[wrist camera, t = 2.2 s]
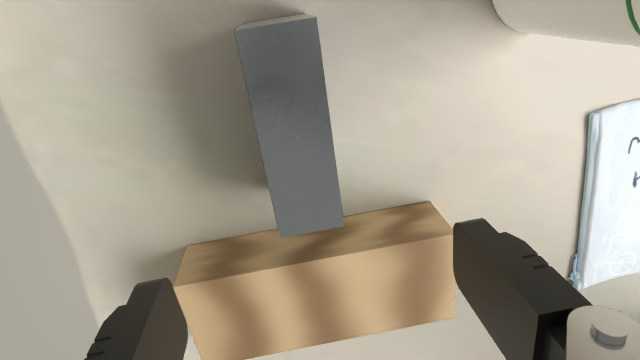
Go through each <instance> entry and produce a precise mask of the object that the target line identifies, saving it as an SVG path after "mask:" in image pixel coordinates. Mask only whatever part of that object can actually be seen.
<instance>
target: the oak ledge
mask: <svg viewBox="0 0 640 360" xmlns="http://www.w3.org/2000/svg"><path fill="white" fill-rule="evenodd" d="M343 221H344V226H343V227H338V228H332V229H327V230H322V231H316V232H311V233H306V234H300V235H295V236H289V237H284V238H280V236H279V231H278V229H275V230H270V231H264V232H259V233H253V234H248V235H242V236H237V237H231V238H226V239H221V240H215V241H210V242H204V243H199V244H193V245H188V246H187V247H186V250H185V253H184V256H183V259H182V262H181V265H180V268H179V271H178V274H177V277H176V280H175V283H174V286H173V289H174V291H175V294H176V296H177V299H178V301H179V304H180V306H181V309H182V311H183V314H184V317H185V319H186V322H187V325H188V327H189V330H190V332H191V335H192V337H193V340H194V343H195V345H196V348H197V350H198V353H199V355H200V358H201V360H244V359H249V358H254V357H259V356H264V355H270V354H275V353H280V352H285V351H290V350H295V349H300V348H305V347H310V346H315V345H320V344H325V343H330V342H335V341H340V340H345V339H350V338H355V337H360V336H365V335H370V334H375V333H380V332H385V331H390V330H395V329H400V328H405V327H410V326H415V325H420V324H425V323H430V322H435V321H440V320H445V319H450V318H455V277H454V272H453V229H452V228H451V227H450V226H449V224H448V223H447V222H446V221H445V219H444V218H443V217H442V216H441V215H440V213H439V212H438V211H437V210H436V208H435V207H434V206H433V205H432V203H431V202H430V201H427V202H422V203H416V204H411V205H405V206H400V207H394V208H389V209H384V210H378V211H373V212H367V213H362V214H356V215H351V216H346V217H343Z"/></svg>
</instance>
